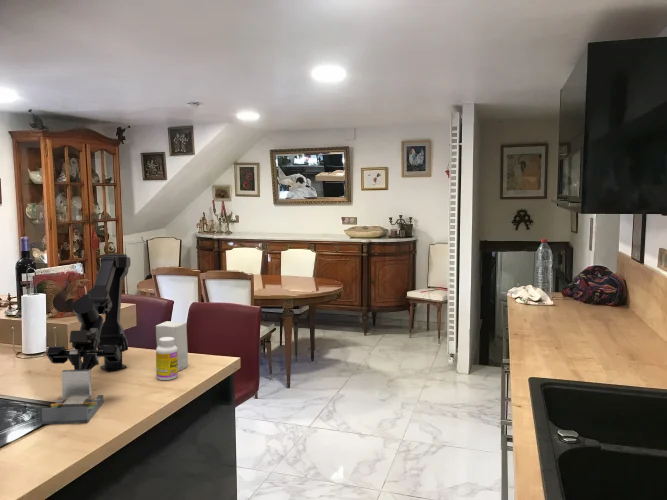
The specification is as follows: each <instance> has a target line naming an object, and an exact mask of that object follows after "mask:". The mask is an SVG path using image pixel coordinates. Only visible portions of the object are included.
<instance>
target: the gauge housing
mask: <svg viewBox="0 0 667 500" xmlns="http://www.w3.org/2000/svg"><path fill="white" fill-rule="evenodd" d="M104 396H105V395H104V394H98V395H97V396H96V398H94V399H93V398H92V402H97V404H94V405H90V406H89V407H63V406H50V407H43V408H41V425H64V424H66V425H67V424H87V423H89V422H90V420H91V419H92V417H93V416H95V414H96V413H97V411H98V410H99V409H100V407H101V406H102V405H103V404H104V401H105V400H104ZM60 403H63V397H62V396H61V397H60V398H59V399H58V400H57V401H56V402H55V403H54V404H60Z"/></svg>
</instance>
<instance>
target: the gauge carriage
mask: <svg viewBox="0 0 667 500" xmlns="http://www.w3.org/2000/svg"><path fill="white" fill-rule="evenodd" d="M91 370H92V369H84V370H74V369H63V370H61V389H62V390H61V395H62V396H61V397H63V403H60V404H55V403H51V404H50V407H52V406H63V407H89V406H90V405H94V404H97V402H92V399H93V398H92V376H91V375H92V371H91Z"/></svg>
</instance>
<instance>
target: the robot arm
mask: <svg viewBox="0 0 667 500" xmlns="http://www.w3.org/2000/svg"><path fill="white" fill-rule="evenodd" d="M99 262H100V264H99V265H100V266H99V270H98V272H97V276H96V279H95V282H94V285H93V287H92V288H91V289H90V290H89V291H87V292H86V293H85V294H82V296H81V297H80V298H78V299H76V300H75V301H74V302H73V303H72V305H71V308H72V311H73V313H74V315H75V317H76V319H77V321H78V322H79V323H80V328H79V330H70V335H69V343H72V344H71V347H72V348H73V349H71V348H70V349H66V347H65V346H64V345H50V346H49V347H48V348H47V350H46V352H45V353H46V356H47V358H48V359H49V361H50V362H51V364H53V365H54V364H55V365H57V364H65V363H66V362H67V361H69V362H70V364H71V365H72V366H73V368H74V369H73V370H84V369H91V370H92V369H93V368H94V367H95V366H99V365H100V362H99V360H100V357H101V358H103V362H104V363H103V365H100V366H99V367H100V369H102V370H104V371H106V372H108V373H110V372H113V371H119V370H122V369H126V368H127V367H128V366H127V365H125V364H123V352H124V353H125V352H126V351H128V350H129V343H128V342H129V341H128V339H127V337H126V334H125V330H124V328H123V326H122V324H121V322H120V321H121V320H120V319H121V306H122V296H123V295H122V293H123V280H124V279H125V278H126V276H127V275H128V273H129V269H130V267H131V258H130V257H129V256H128V255H127V254H126V253H107V255H104V256H101V257H100V261H99ZM102 315H104V317H105V318H103V316H102Z"/></svg>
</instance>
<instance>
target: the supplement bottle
mask: <svg viewBox="0 0 667 500" xmlns="http://www.w3.org/2000/svg"><path fill="white" fill-rule="evenodd" d="M159 344H160V346H158V347H157V346H156V349H155V354H156V355H155V365H156V366H155V372H156V374H155V375H156V379H157V380H159V381H171V380H174V379H176V378H177V377H178V375H179V374H178V373H179V371H178V349H177V347H176V346H175V345H174V338H173V337H163V338H160V339H159Z"/></svg>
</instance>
